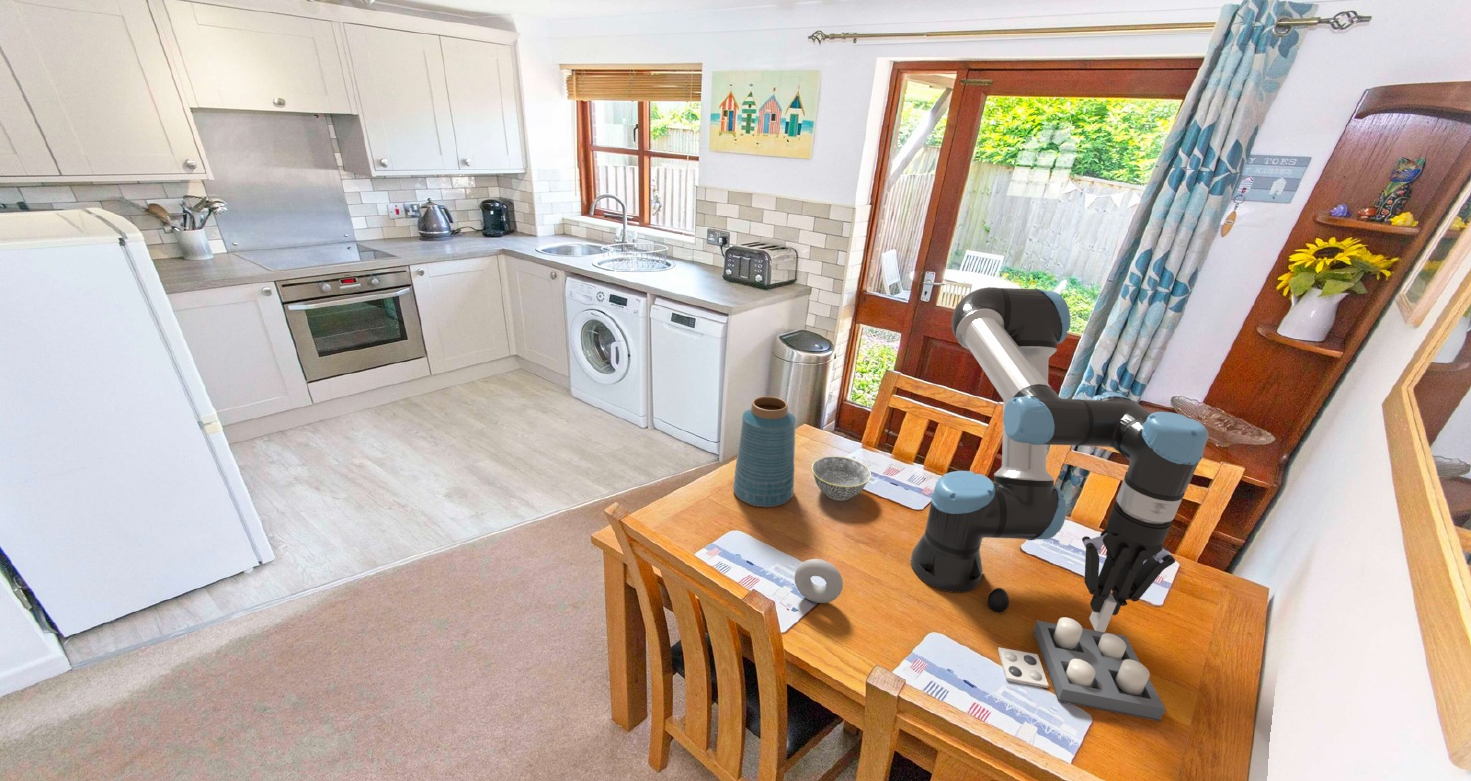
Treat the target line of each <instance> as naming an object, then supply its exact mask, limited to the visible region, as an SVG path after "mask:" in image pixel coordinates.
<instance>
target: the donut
mask: <svg viewBox="0 0 1471 781" xmlns="http://www.w3.org/2000/svg"><path fill="white" fill-rule="evenodd" d="M812 577H819V578H821V579H823V581H824V582H825V583H826V584H824V585H818V584H816V583H814V582H813V581H812ZM794 583H795V587H796V588H797V590H798V592H799V593H800V594H801V596H803V597H804V598H806V599H807V600H809V601H811V602H813V603H817V604H818V603H819V604H827V603H831V602H833V601H835V600H836V599H837V598H839V597H840V595H841V593H842V590H843V587H844V586H843V585H844V584H843V577H842V575H841V573H840V571H839V570H838V569H837V568H836V566H834V564H832V563H830V562H829V561H826V560H824V559H820V558H812V559H811V558H810V559H807V560H805V561H802V562H801V563H800V564H799V565H798V566H797V568H796V569H795V573H794Z"/></svg>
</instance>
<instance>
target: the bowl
mask: <svg viewBox="0 0 1471 781" xmlns="http://www.w3.org/2000/svg"><path fill="white" fill-rule="evenodd" d="M811 473H812V474H813V477H814V481H815V484H816V486H817V487H818V488H819V490H821V492H823V494H825V495H826V497H828V498H829V499H832V500H834V501H839V502H840V501H841V502H842V501H843V502H844V501H848V500H849V499H850V498H851V499H852V498H854V497H855V496H857V495H858V494H860V493H862V491H863V490H864V488H865V487H866V485H867V483H868V482H870V480H871V478H872V473H871V470H870V469H869V468H868V466H866V465H865V464H864V463H863V462H861V461H858V460H856V459H853V458H849V457H845V456H834V455H831V456H830V455H829V456H824V457H821V458H818V459H816V460H815V461H814V462H813V463H812V465H811Z"/></svg>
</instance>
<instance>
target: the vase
mask: <svg viewBox="0 0 1471 781" xmlns="http://www.w3.org/2000/svg"><path fill="white" fill-rule="evenodd" d="M788 406H789V405H788V402H787V401H786V400H784V399H783V398H780V397H777V396H772V395H771V396H768V395H766V396H765V395H764V396H760V397H756V398H754V399H753V400H752V402H751V407H750V408H748V409H746V410H744V411H743V413H742V415H741V423H740V429H739V430H740V431H739V432H740V433H739V438H738V439H739V440H738V447H737V448H738V449H737V455H736V456H737V457H736V463H735V468H734V469H735V471H734V478H733V486H732V488H733V492H734V494H735V495H736V497H737V498H739V500H740V501H743V502H744V503H746V504H747V505H751V506H754V507H759V508H773V507H774V508H775V507H778V506H781V505H784V504H786V503H787V502H789V501H790V500H791V499H792V497H793V495H794V490H795V488H794V487H795V485H794V484H795V471H796V470H795V465H796V464H795V459H796V458H795V456H796V455H795V454H796V453H795V452H796V426H797V419H796V417H795V415H794V413H792V412H791V411H789V410H788V409H789V407H788Z"/></svg>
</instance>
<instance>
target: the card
mask: <svg viewBox="0 0 1471 781" xmlns="http://www.w3.org/2000/svg"><path fill="white" fill-rule="evenodd" d="M997 650H998V655H999V656H998V657H999V658H1000V664H1001V666H1002V669H1003V674H1004V678H1005V680H1006V681H1009V682H1015V683H1020V684H1025V685H1030V686H1034V687H1040V688H1045V689H1048V688H1049V683H1048V680H1047V678H1046V677H1047V676H1046V674H1045V671H1044V669H1043V666H1042V663H1041V661H1040V660H1041V659H1040V658H1039V657H1040V656H1039V655H1038V654H1037V653H1032V652H1027V651H1022V650H1021V651H1020V650H1017V649H1016V650H1014V649H1010V648H1005V647H997Z"/></svg>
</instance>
